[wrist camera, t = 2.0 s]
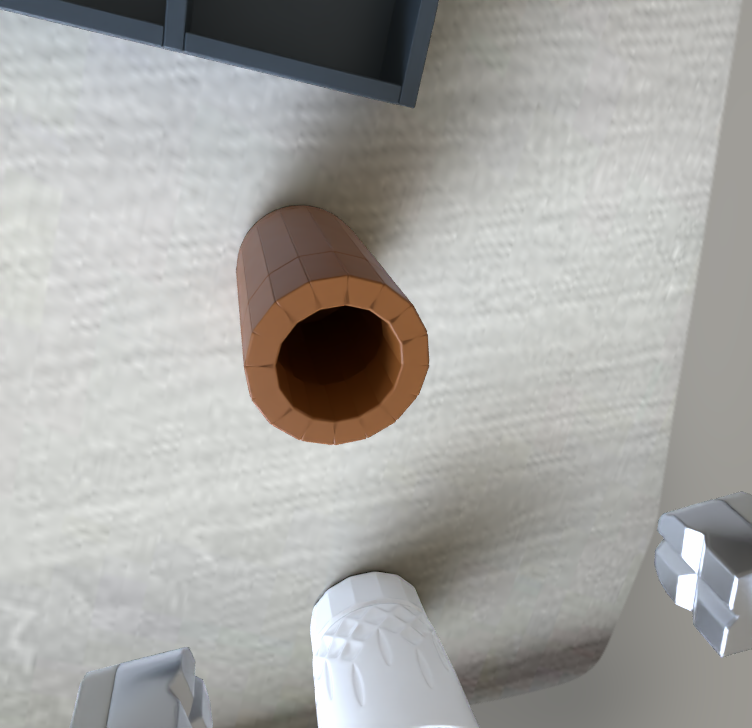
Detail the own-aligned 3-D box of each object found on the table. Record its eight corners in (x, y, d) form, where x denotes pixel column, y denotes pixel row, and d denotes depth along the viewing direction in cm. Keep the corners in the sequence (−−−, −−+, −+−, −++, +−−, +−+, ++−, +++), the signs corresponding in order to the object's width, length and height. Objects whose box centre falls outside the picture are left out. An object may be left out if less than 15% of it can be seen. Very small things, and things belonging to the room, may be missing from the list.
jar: (211, 282, 26) (207, 390, 17) (286, 177, 25) (323, 237, 16) (312, 347, 28) (354, 471, 20) (386, 254, 27) (465, 343, 19)
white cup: (390, 540, 35) (448, 699, 26) (447, 614, 39) (514, 775, 30) (274, 610, 35) (292, 790, 26) (342, 677, 39) (377, 854, 30)
